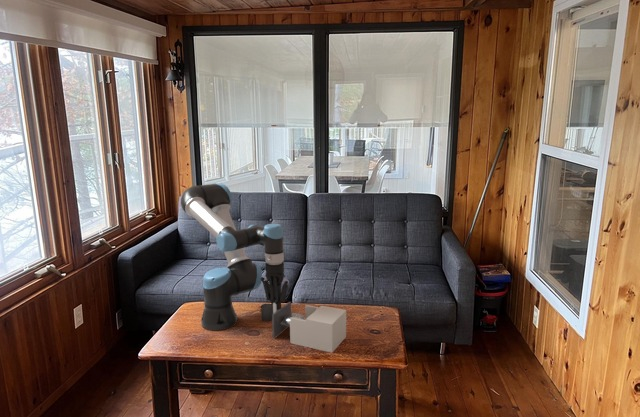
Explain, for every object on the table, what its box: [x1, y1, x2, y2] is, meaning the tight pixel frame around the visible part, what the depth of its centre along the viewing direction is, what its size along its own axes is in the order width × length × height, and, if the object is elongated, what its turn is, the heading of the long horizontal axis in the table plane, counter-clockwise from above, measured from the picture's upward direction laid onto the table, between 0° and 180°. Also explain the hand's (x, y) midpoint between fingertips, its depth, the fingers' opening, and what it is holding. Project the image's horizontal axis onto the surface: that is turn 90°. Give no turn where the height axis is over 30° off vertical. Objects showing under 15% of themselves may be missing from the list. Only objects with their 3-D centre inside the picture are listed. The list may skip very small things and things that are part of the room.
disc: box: [284, 312, 305, 327], centre depth 179 cm, size 8×8×2 cm
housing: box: [289, 304, 347, 354], centre depth 174 cm, size 18×14×12 cm
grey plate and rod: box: [271, 301, 292, 339], centre depth 178 cm, size 18×14×10 cm
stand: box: [260, 303, 273, 323], centre depth 194 cm, size 6×6×6 cm
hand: (276, 316), depth 182 cm, fingers closed
